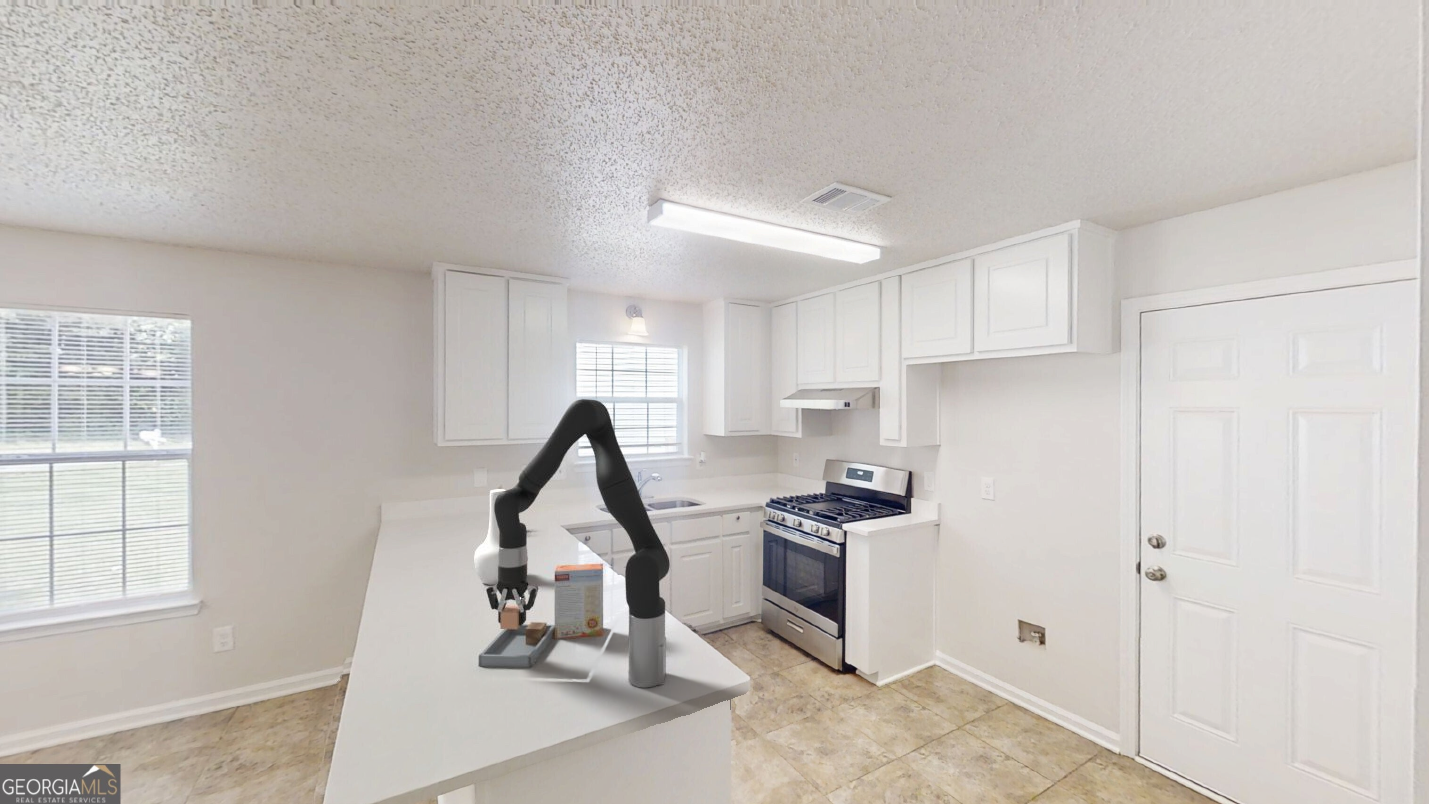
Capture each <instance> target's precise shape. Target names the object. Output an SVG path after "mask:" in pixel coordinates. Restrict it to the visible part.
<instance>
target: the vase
mask: <svg viewBox="0 0 1429 804" xmlns="http://www.w3.org/2000/svg"><path fill="white" fill-rule="evenodd" d="M506 490H507V489H502V488H498V489H491V490H490V491H489V520H488V521H489V522H488V523H489V524H488V531H487V536H486V539H485V540H484V542H482V543H481V544H480V545H479V546H478V547H477V549H475V552H474V557H473V558H474V559H473V560H474V566H475V570H476V574H477V576H478V578H479V580H480V582H481V583H483V584H484V585H487V586H488V585H489V586H491V585H494V586H495V585H497V583H498V552H499V528H498V525H497V521H496V517H495V512H494V504H495V500H496V498H497V496H498V495H499V494H500V493H501V492H503V491H506Z"/></svg>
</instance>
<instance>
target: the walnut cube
mask: <svg viewBox="0 0 1429 804" xmlns="http://www.w3.org/2000/svg"><path fill="white" fill-rule="evenodd" d="M546 625H547V622H537V621H535V622H534V621H530V623H529V626H528V627H527V628H526V644H529V645H538V643H539V642H540V641H541V639H542V638H543V637H544V635H545V634H546Z"/></svg>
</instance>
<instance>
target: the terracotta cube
mask: <svg viewBox="0 0 1429 804" xmlns="http://www.w3.org/2000/svg"><path fill="white" fill-rule="evenodd" d="M519 612H520V611H519V608H518V605H506V607H505V609H504V610H502V611H501V625H500V630H504V629H518V628H519V627H520V626H519Z"/></svg>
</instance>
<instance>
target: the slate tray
mask: <svg viewBox="0 0 1429 804" xmlns="http://www.w3.org/2000/svg"><path fill="white" fill-rule="evenodd" d="M529 624H530V623H529ZM529 624H528V623H524V624H523V625H522V626H520V627H519V628H518V629H502V631H501V632H500V633H499V634H498V635H497V636H496V637H495V638H494V639H493V640H492V641H491V642H490V643H489V644H488V645H487V646H486V647H485V648H484V649H483V650H482V651H481V653H480V654H479V655H478V667H494V668H495V667H500V668H501V667H502V668H505V667H507V668H532V667H533V665H534V664H535V663H536V661H537V660H538V659H539V657H540V656H541V655H542V653H543V652H544V650H545V649H546V647H547V646H548V645H549V643H550V642H551V640H552V639H553V638H554V637H555V624H546V634H545V635H544V637H543V638H542V639H541V641H540V642H539V643H538V645H529V644H526V628H527V627H528V626H529Z"/></svg>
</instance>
